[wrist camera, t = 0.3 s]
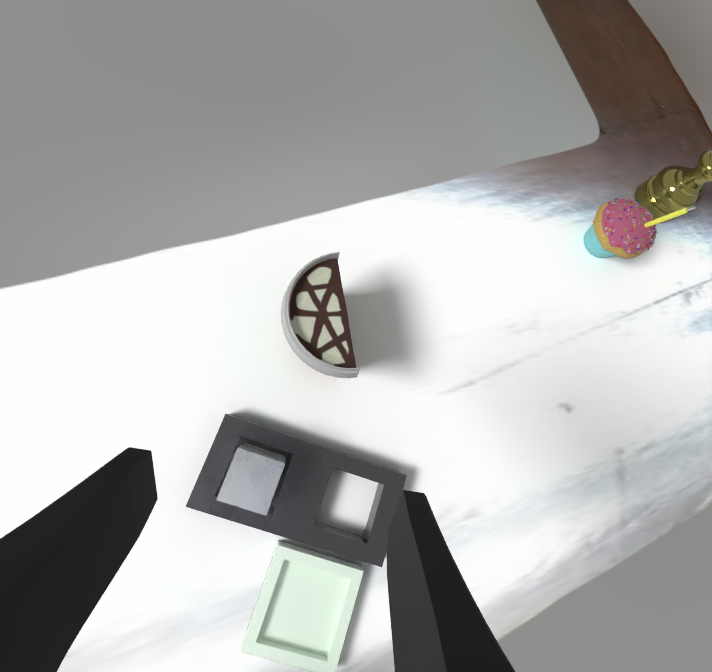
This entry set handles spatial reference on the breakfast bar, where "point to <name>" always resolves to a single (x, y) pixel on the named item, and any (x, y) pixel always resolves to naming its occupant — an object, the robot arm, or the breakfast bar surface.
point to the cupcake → (623, 229)
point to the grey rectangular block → (252, 479)
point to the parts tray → (303, 609)
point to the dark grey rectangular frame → (300, 491)
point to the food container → (319, 318)
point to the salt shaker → (675, 187)
